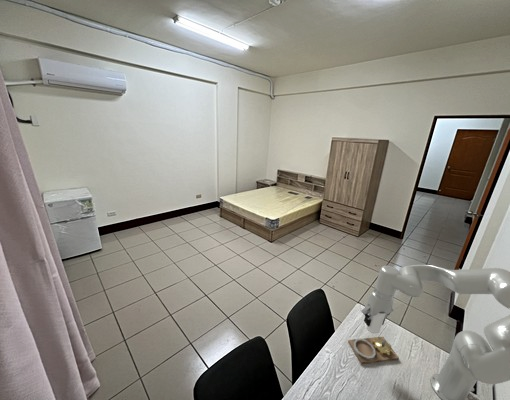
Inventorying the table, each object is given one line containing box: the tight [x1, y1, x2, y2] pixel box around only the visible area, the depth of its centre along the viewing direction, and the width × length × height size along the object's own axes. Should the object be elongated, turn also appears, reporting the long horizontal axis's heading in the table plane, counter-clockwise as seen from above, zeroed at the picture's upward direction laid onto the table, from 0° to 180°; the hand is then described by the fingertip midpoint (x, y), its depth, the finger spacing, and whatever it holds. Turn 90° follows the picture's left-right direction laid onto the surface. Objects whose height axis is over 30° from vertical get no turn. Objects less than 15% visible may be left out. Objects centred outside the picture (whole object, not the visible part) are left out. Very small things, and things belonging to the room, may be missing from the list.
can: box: [364, 312, 386, 334], centre depth 99 cm, size 6×6×12 cm
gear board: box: [348, 336, 400, 365], centre depth 107 cm, size 20×11×2 cm, turn 99°
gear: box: [372, 336, 394, 357], centre depth 107 cm, size 9×9×4 cm
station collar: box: [353, 338, 376, 360], centre depth 106 cm, size 10×10×1 cm
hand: (373, 322), depth 100 cm, fingers closed on can, 6 cm apart
